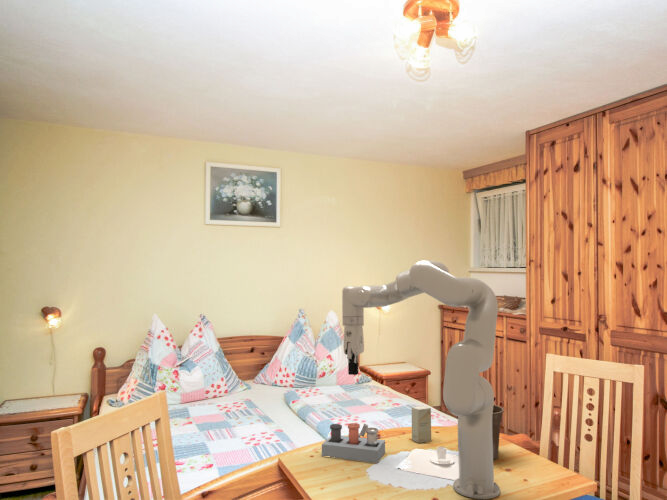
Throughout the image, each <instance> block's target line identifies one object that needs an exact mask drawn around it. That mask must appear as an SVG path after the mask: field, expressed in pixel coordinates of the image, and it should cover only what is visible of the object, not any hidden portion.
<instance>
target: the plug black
mask: <svg viewBox="0 0 667 500" xmlns="http://www.w3.org/2000/svg"><path fill="white" fill-rule="evenodd" d="M329 429H330V431H331V432H330V436H331V442H336V443H340V442H341V436H342V429H343V425H342V424H340V423H332V424H330V425H329Z"/></svg>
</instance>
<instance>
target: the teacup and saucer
mask: <svg viewBox="0 0 667 500" xmlns="http://www.w3.org/2000/svg"><path fill="white" fill-rule="evenodd" d="M435 452H436V454H435V455H432V456H430V457H429V461H430V462H432V463H434V464H436V465H443V466H446V465H452V464H454V463H455V461H456V460H455V459H454V458H453V457H452V456H450V454H451V453H447V448H446V447H444V446H437V447H436V451H435Z"/></svg>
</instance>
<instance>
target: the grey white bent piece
mask: <svg viewBox="0 0 667 500" xmlns="http://www.w3.org/2000/svg"><path fill="white" fill-rule="evenodd" d="M366 428H369V425H368V424H367V423H363V425H362V428H361V430H360V431H359V438H361V437H362V438H365V435H366V434H367V433H366ZM347 436H349V433H348V435H347Z"/></svg>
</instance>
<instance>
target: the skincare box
mask: <svg viewBox="0 0 667 500" xmlns="http://www.w3.org/2000/svg"><path fill="white" fill-rule="evenodd" d="M431 409H432V408H431V407H429V406H425V405H419V406H413V407H411V440H412V441H414V442H416V443H418V444H421V443H426V442H427V443H429V442H431V441H432V410H431Z"/></svg>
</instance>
